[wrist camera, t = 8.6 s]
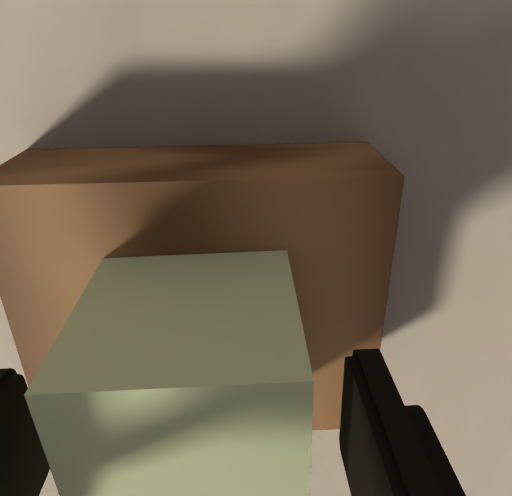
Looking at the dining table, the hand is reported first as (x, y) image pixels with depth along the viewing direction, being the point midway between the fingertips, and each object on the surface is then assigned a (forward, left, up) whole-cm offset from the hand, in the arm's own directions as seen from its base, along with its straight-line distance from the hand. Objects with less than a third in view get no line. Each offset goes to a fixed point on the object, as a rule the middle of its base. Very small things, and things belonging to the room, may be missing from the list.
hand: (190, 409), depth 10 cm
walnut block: (0, 0, -7) cm, 7 cm away
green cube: (0, 0, -3) cm, 3 cm away
